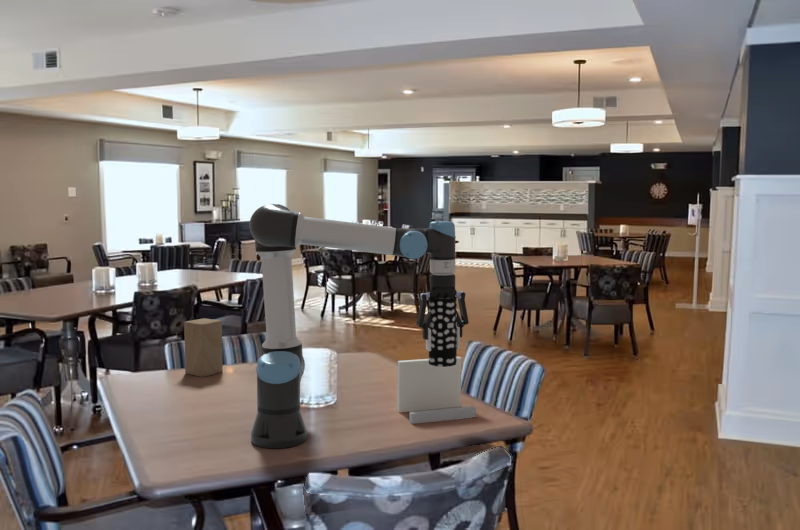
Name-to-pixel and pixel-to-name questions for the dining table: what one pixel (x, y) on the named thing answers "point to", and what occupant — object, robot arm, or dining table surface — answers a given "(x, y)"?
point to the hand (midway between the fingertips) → (442, 349)
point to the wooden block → (203, 347)
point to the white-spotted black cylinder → (443, 331)
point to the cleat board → (430, 391)
